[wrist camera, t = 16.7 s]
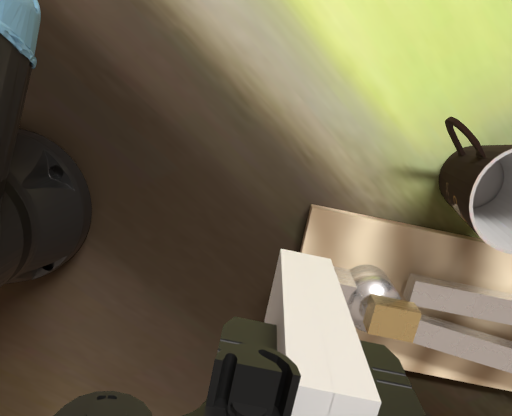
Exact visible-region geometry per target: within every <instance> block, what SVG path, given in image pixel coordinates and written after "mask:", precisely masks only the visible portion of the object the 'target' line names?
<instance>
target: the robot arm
mask: <svg viewBox="0 0 512 416" xmlns="http://www.w3.org/2000/svg"><path fill="white" fill-rule="evenodd" d="M40 19H41V12H40V6H39V3H38V1H37V0H0V287H1V286H2V285H4V284H8V283H14V282H21V281H27V280H32V279H36V278H39V277H42V276H44V275H47V274H49V273H51V272H53V271H54V270H56V269H57V268H59V267H60V266H61V265H63V264H64V263H65V262H66V261H68V260H69V259H70V258H71V257H72V256H73V255H74V254H75V253H76V252H77V251H78V250H79V248H80V247H81V245H82V244H83V242H84V240H85V238H86V236H87V233H88V230H89V227H90V222H91V199H90V194H89V190H88V187H87V184H86V181H85V179H84V177H83V175H82V173H81V171H80V170H79V168H78V166H77V165H76V164H75V162H74V161H73V160H72V159H71V157H70V156H69V155H68V154H67V153H66V152H65V151H64V150H62V149H61V148H60V147H59V146H58V145H56V144H55V143H53V142H52V141H50V140H48V139H47V138H45V137H43V136H41V135H38V134H36V133H33V132H30V131H26V130H21V129H19V125H20V120H21V116H22V111H23V107H24V102H25V98H26V93H27V89H28V84H29V80H30V75H31V71H32V68H33V69H35V67H36V64H37V60H36V57H35V56H34V55H35V49H36V43H37V37H38V31H39V26H40ZM411 387H412V385H411V383H410V381H409V379H408V377H407V376H406V373H405V371H404V369H403V367H402V365H401V362H400V360H399V359H398V358H397V357H396V356H395V355H394V354H393V353H392V352H391V351H390V350H389V349H388V348H387V347H386V346H385V345H381V344H376V343H371V342H366V341H362V340H359V337H358V334H357V332H356V329H355V326H354V323H353V320H352V318H351V315H350V312H349V309H348V306H347V303H346V301H345V298H344V295H343V292H342V289H341V286H340V284H339V281H338V278H337V275H336V272H335V269H334V267H333V264H332V261H331V259H329V258H324V257H319V256H314V255H309V254H304V253H300V252H295V251H290V250H285V249H281V250H280V254H279V258H278V263H277V267H276V272H275V276H274V281H273V285H272V289H271V294H270V298H269V303H268V307H267V312H266V316H265V320H264V322H259V321H254V320H249V319H244V318H239V317H233V318H232V319H231V320H230V321H228V322H227V323H226V324H225V325H223V330H222V334H221V339H220V344H219V348H218V353H217V356H216V358H215V361H214V366H213V371H212V376H211V381H210V386H209V391H208V396H207V399H206V401H205V402H204V403H203V404H202V405H201V406H200V407H199V408H198V409H196V410H195V411H193V412H191V413H189V414H186V415H183V416H426V415H425V413H424V411H423V409H422V406H421V404H420V402H419V400H418V398H417V396H416V394H415V392H414V390H413V389H411ZM54 416H152V413H151V411H150V410H149V409H148V408H147V406H146V405H145V404H144V402H142V401H140V400H138V399H137V398H135V397H133V396H131V395H129V394H124V393H120V392H115V391H103V392H93V393H90V394H86V395H83V396H79V397H78V398H76V399H74V400H73V401H71V402H70V403H68V404H66V405H65V406H64V407H63V408H61V409H60V410H59V411H58V412H57V413H56V414H55V415H54Z"/></svg>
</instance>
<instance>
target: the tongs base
mask: <svg viewBox="0 0 512 416" xmlns="http://www.w3.org/2000/svg"><path fill="white" fill-rule="evenodd" d="M333 267H334V269H335V272H336V275H337V278H338V281H339V284H340V286H341V289H342V292H343V295H344V298H345V301H346V303H347V306H348V309H349V312H350V315H351V318H352V320H353V323H354V326H355V327H356V328H358V329H359V330H361V331H364V332H367V331H366V329H365V326H364V324H363V319H364V315H365V312H366V308H367V305H368V301H369V298H370V294H374V295H379V296H384V297H389V298H394V299H399V300H401V298H400V296H399V294H398V292H397V291H396V289H395V288H394V286H393V284H392V283H391V281H390V280H389V278H388V276H387V275H386V274H385V272H384V271H383V270H381V269H380V268H378V267H376V266H373V265H359V266H356V267H354V268H352V269H350V270H349V269H344V268H340V267H335V266H333ZM403 297H404V298H405V300H406V301H409V302H414V303H415V304H416V306H419V307H423V308H428V309H433V310H438V311H443V312H448V313H453V314H458V315H463V316H468V317H473V318H478V319H483V320H488V321H493V322H498V323H503V324H508V325H512V294H510V293H505V292H501V291H496V290H491V289H486V288H481V287H476V286H471V285H466V284H461V283H456V282H451V281H446V280H441V279H436V278H431V277H427V276H422V275H417V274H412V273H410V274H409V277H408V280H407V284H406V287H405V290H404V294H403Z"/></svg>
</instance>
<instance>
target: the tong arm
mask: <svg viewBox="0 0 512 416" xmlns="http://www.w3.org/2000/svg"><path fill="white" fill-rule="evenodd" d="M413 343H415V344H418V345H421V346H424V347H428V348H431V349H434V350H437V351H441V352H444V353H447V354H450V355H454V356H457V357H460V358H463V359H467V360H470V361H473V362H476V363H480V364H483V365H486V366H489V367H493V368H496V369H499V370H502V371H506V372H509V373H512V341H509V340H506V339H503V338H500V337H496V336H493V335H490V334H487V333H483V332H480V331H477V330H474V329H471V328H467V327H464V326H461V325H458V324H454V323H451V322H448V321H445V320H442V319H438V318H435V317H432V316H429V315H425V314H422V315H421V318H420V322H419V325H418V328H417V331H416V334H415V338H414V341H413Z"/></svg>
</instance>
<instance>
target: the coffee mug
mask: <svg viewBox="0 0 512 416" xmlns="http://www.w3.org/2000/svg"><path fill="white" fill-rule="evenodd" d="M445 124H446V128H447V131H448V133H449V135H450V137H451V139H452V141H453V143H454V145H455V147H456V149H457V151H456V152H455V153H453V154H452V155H451V156H450V157H449V158H448V159H447V160H446V162H445V163H444V164H443V167H442V169H441V171H440V175H439V187H440V191H441V194H442V195H443V197H444V199H445V200H446V201H447V202H448V203H449V204H450V205H451V206H452V208H453V209H454V210H455V211H456V212H457V213H458V214H459V215H460V216H461V217H462V218H463V219H464V221H465V222H466V223H467V224H468V225H469V226H470V227H471V228H472V229H473V230H474V231H475V232H476V234H477V235H478V236H479V237H480V238H481V239H482V240H483V241H484V242H485V243H486V244H488V245H489V246H491V247H492V248H494V249H496V250H498V251H501V252H503V253H507V254H512V145H488V146H481V145H480V143H479V141H478V140H477V138H476V137H475V136H474V135H473V134H472V133H471V131H470V130H469V129H468V128H467V127H466V126H465V125H464V124H462V123H461V122H460V121H459V120H457V119H456V118H453V117H449V118H448V119H447V120H445ZM453 125H454V126H455V127H457V128H458V129H459V130H460V131H461V132H462V133H463V134H464V135H465V136H466V137H467V138H468V139H469V141H470V142H471V144H472V145H473V146H469V147H464V148H462V146H461V144H460V142H459V140H458V138H457V136H456V134H455V131H454V129H453Z"/></svg>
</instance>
